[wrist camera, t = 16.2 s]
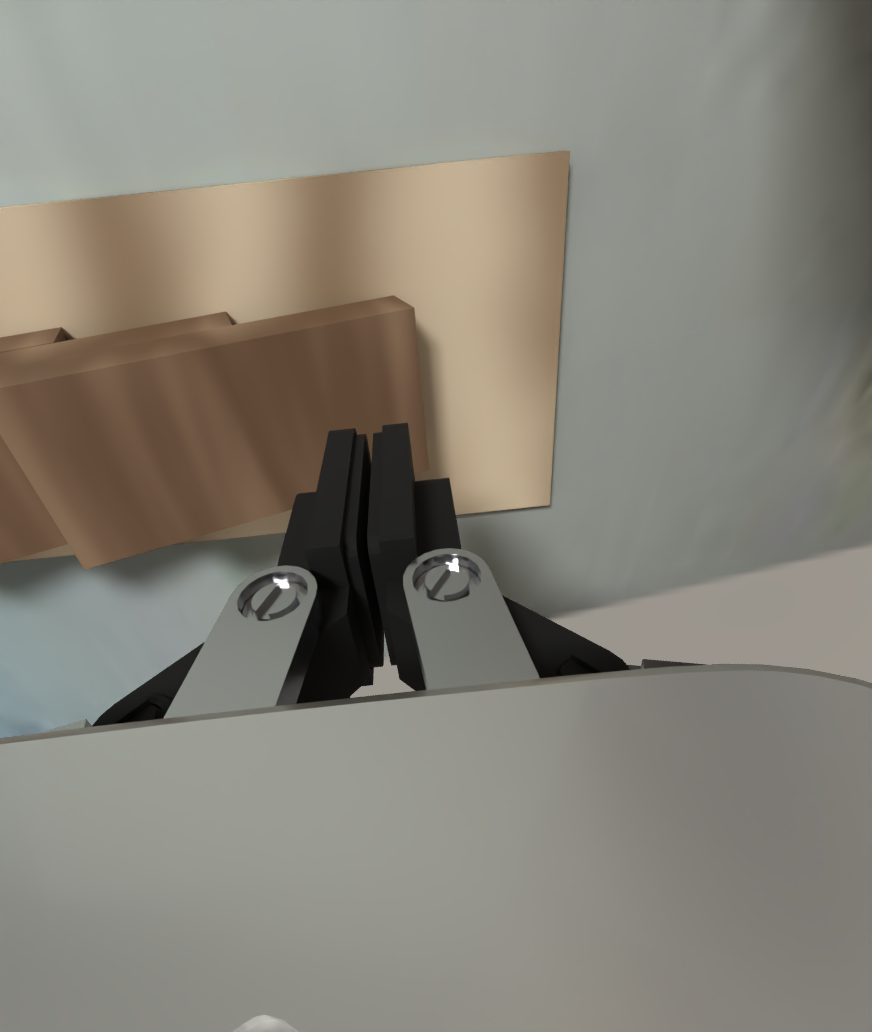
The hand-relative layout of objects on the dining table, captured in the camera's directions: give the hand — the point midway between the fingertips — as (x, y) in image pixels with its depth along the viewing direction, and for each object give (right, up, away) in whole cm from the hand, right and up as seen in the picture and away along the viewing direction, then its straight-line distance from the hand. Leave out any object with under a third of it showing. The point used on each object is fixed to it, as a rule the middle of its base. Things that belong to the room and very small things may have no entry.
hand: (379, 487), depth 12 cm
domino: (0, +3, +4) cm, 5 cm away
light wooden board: (-8, +3, +5) cm, 10 cm away
